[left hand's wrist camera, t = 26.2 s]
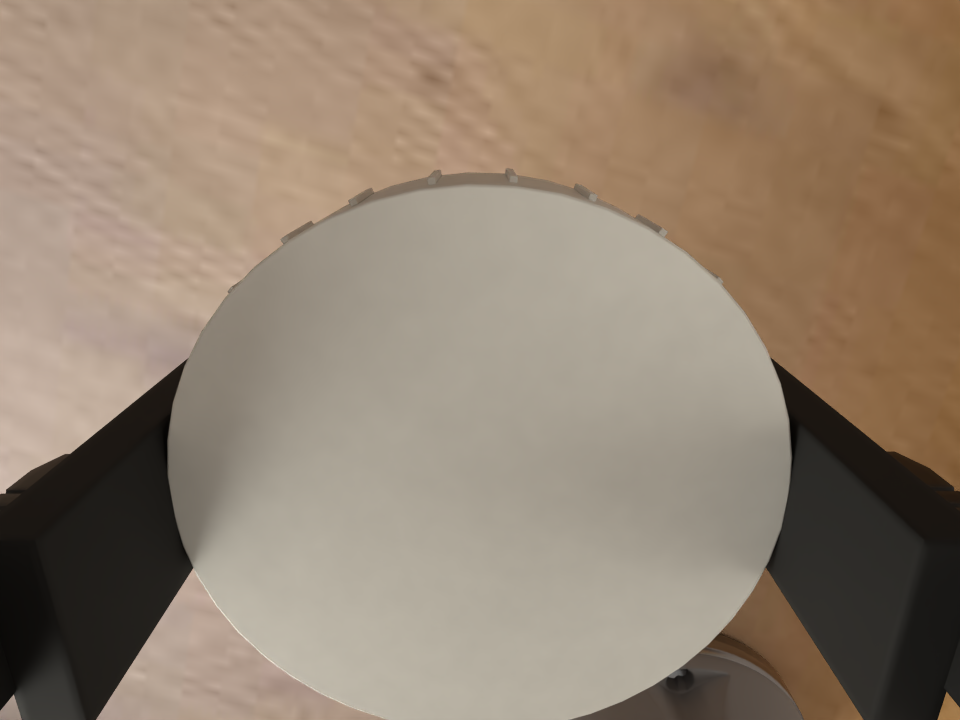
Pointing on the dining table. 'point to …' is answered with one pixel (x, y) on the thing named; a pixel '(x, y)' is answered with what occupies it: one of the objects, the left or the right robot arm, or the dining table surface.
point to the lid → (479, 452)
